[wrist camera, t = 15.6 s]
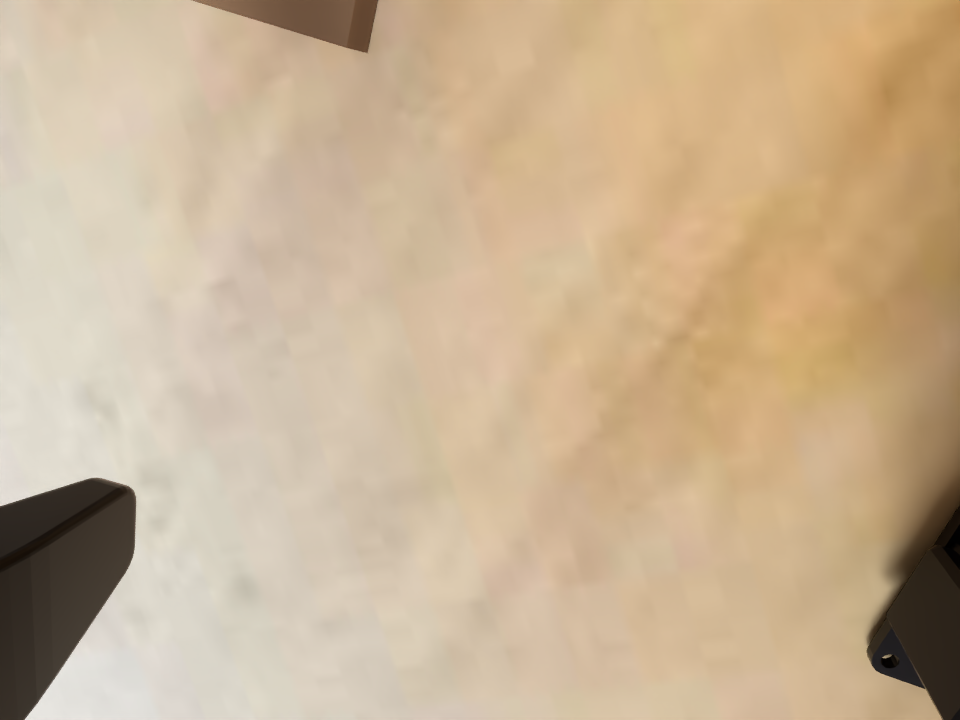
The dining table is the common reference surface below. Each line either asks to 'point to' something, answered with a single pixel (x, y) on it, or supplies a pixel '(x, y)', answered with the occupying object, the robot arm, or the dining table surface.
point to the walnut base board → (311, 17)
